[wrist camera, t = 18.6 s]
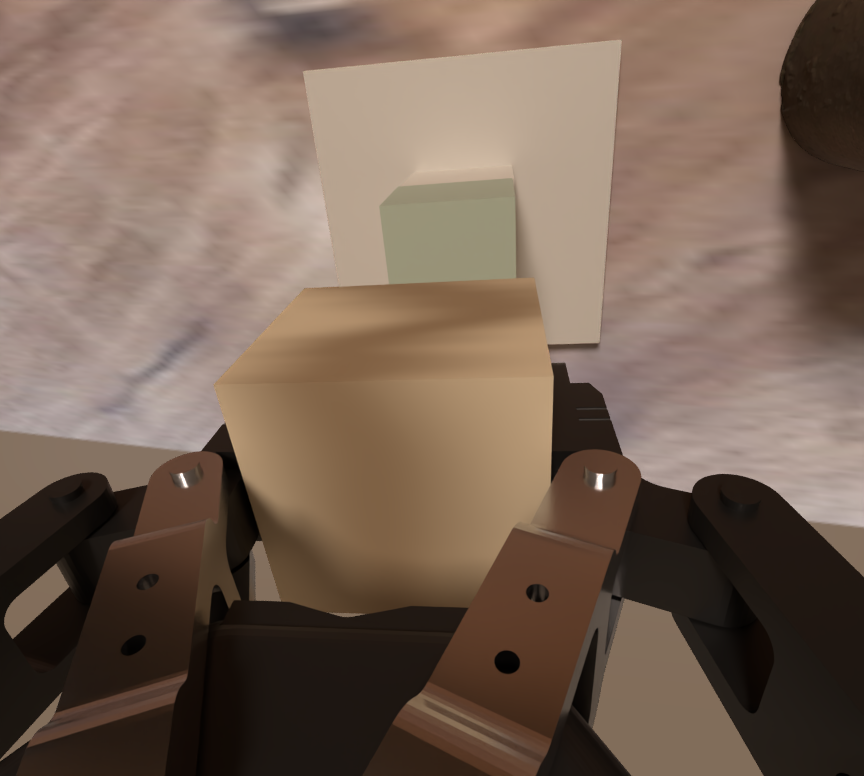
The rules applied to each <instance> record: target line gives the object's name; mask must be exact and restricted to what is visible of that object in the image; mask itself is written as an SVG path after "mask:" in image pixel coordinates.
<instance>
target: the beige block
mask: <svg viewBox="0 0 864 776" xmlns="http://www.w3.org/2000/svg"><path fill="white" fill-rule="evenodd" d="M505 178H512V180H513V186H514V174H513V169H512V165H509V166H495V167H481V168H467V169H453V170H439V171H426V172H413V173H412V174H411V175H410V177H409V178H408V179H407V180H406V181H405V182H404V183H403V184H402V185H401V186H412V185H426V184H439V183H452V182H466V181H479V180H492V179H505Z"/></svg>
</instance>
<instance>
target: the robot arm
mask: <svg viewBox="0 0 864 776" xmlns="http://www.w3.org/2000/svg"><path fill="white" fill-rule="evenodd" d="M551 366H552V371H553V376H554V380H553V416H552V452H551V485H550V487H549V489H548V491H547V493H546V495H545V497H544V499H543V500H542V502H541V504H540V506H539V508H538V510H537V512H536V514H535V516H534V518H533V520H532V522H531V523H530V524H526V523H523V522H518V523H517V524H516V525H515V526H514V527H513V529H512V530H511V532H510V534H509V536H508V538H507V539H506V541H505V543H504V545H503V547H502V548H501V550H500V552H499V554H498V556H497V557H496V559H495V561H494V563H493V565H492V567H491V568H490V570H489V572H488V574H487V576H486V577H485V579H484V581H483V583H482V585H481V586H480V588H479V590H478V592H477V594H476V595H475V597H474V599H473V601H472V603H471V605H470V606H469V608H462V607H431V606H408V607H403V608H397V609H392V610H387V611H381V612H376V613H370V614H365V615H360V616H355V617H340V616H337V615H333V614H330V613H326V612H323V611H319V610H316V609H313V608H309V607H306V606H302V605H299V604H295V603H292V602H277V601H255V559H254V556H253V552H252V547H253V546H254V544H255V542H256V541H262V538H261V535H260V532H259V529H258V525H257V522H256V519H255V516H254V513H253V509H252V506H251V503H250V500H249V497H248V493H247V490H246V487H245V484H244V481H243V477H242V474H241V471H240V468H239V465H238V461H237V458H236V455H235V452H234V449H233V445H232V442H231V439H230V436H229V433H228V429H227V426H226V423H225V424H223V425H222V426H221V427H220V428H219V430H218V431H217V432H216V433H215V434H214V436H213V437H212V438H211V439H210V441H209V442H208V443H207V444H206V446H205V447H204V448H203V449H202V451H200V452H192V453H187V454H184V455H181V456H178V457H176V458H173V459H172V460H169V461H167V462H166V463H164V464H163V465H161V466H160V467H159V468H158V469H156V471H155V472H154V473H153V474H152V475H151V477H150V480H149V483H148V485H146V486H141V487H136V488H131V489H126V490H121V491H116V492H113V491H112V489H111V487H110V484H109V482H108V480H107V478H106V477H105V476H104V475H102V474H99V473H93V472H91V473H80V474H76V475H72V476H69V477H66V478H63V479H60V480H58V481H56V482H54V483H52V484H50V485H48V486H47V487H45V488H44V489H42V490H40V491H39V492H38V493H36V494H35V495H33V496H32V497H31V498H29V499H28V500H27V501H25V502H24V503H22V504H21V505H20V506H18V507H17V508H15V509H14V510H12V511H11V512H10V513H8V514H7V515H5V516H4V517H3V518H1V519H0V759H1V758H2V756H3V755H4V754H5V753H6V752H7V751H8V750H9V749H10V748H11V747H12V745H13V744H14V743H15V742H16V741H17V740H18V739H19V738H20V737H21V736H22V735H23V734H24V732H25V731H26V730H27V729H28V728H29V727H30V726H31V725H32V724H33V723H34V722H35V720H36V719H37V718H38V717H39V716H40V715H41V714H42V713H43V712H44V711H45V710H46V708H47V707H48V706H49V705H50V704H51V703H52V702H53V701H54V700H55V699H56V698H57V696H58V695H59V694H60V693H61V692H62V693H61V696H60V699H59V702H58V706H57V708H56V711H55V714H54V716H53V718H52V719H51V720H50V722H49V723H48V724H47V725H45V726H43V727H42V728H40V729H39V730H38V731H37V732H36V733H35V734H34V736H33V737H32V739H31V740H30V741H28V742H27V743H25V744H24V745H23V746H21V747H20V748H18V749H17V750H16V751H14V752H13V753H12V754H10V755H9V756H7V757H6V758H5V759H3V760H2V761H0V776H631V775H630V774H629V772H628V771H627V770H626V769H625V768H624V766H623V765H622V764H621V763H620V762H619V761H618V759H617V758H616V757H615V756H614V755H613V753H612V752H611V751H610V750H609V749H608V747H607V746H606V745H605V744H604V743H603V741H602V740H601V739H600V738H599V737H598V735H597V734H596V733H595V732H594V731H593V729H592V728H593V724H594V719H595V715H596V711H597V706H598V702H599V697H600V692H601V686H602V681H603V676H604V672H605V668H606V664H607V661H608V657H609V653H610V650H611V646H612V642H613V639H614V635H615V631H616V628H617V624H618V620H619V617H620V613H621V609H622V606H623V602H624V599H629V600H632V601H635V602H639V603H642V604H646V605H649V606H652V607H656V608H659V609H662V610H666V611H669V612H671V613H672V616H673V618H674V620H675V622H676V624H677V626H678V628H679V629H680V631H681V633H682V635H683V636H684V638H685V640H686V641H687V643H688V645H689V647H690V648H691V650H692V652H693V654H694V655H695V657H696V659H697V660H698V662H699V664H700V666H701V668H702V669H703V671H704V673H705V674H706V676H707V678H708V680H709V681H710V683H711V685H712V687H713V688H714V690H715V692H716V694H717V695H718V697H719V698H720V701H721V702H722V704H723V706H724V708H725V709H726V711H727V713H728V714H729V716H730V718H731V719H732V721H733V723H734V725H735V727H736V728H737V730H738V732H739V733H740V735H741V737H742V739H743V741H744V742H745V744H746V746H747V747H748V749H749V751H750V752H751V754H752V756H753V758H754V760H755V761H756V763H757V765H758V767H759V768H760V770H761V772H762V773H763V775H764V776H864V577H863V576H862V575H861V574H860V573H859V572H858V571H857V570H856V569H855V568H854V567H853V566H852V565H851V564H850V563H849V562H848V561H847V560H846V559H845V558H844V557H843V556H842V555H841V554H840V553H838V551H836V550H835V549H834V548H833V547H832V546H831V545H830V544H829V543H828V542H827V541H826V540H825V539H824V538H823V537H822V536H821V535H820V534H819V533H818V532H817V531H816V530H815V529H814V528H813V527H812V526H811V525H810V524H809V523H808V522H807V521H806V520H805V519H804V518H803V517H802V516H801V515H800V514H799V513H798V512H797V511H796V510H795V509H794V508H793V507H792V506H791V505H790V504H789V503H788V502H787V501H785V500H784V499H783V498H782V497H781V496H780V495H779V494H778V493H777V492H776V491H774V490H773V489H771V488H770V487H768V486H767V485H765V484H763V483H761V482H758V481H756V480H753V479H750V478H747V477H743V476H738V475H731V474H716V475H711V476H707V477H704V478H702V479H700V480H699V481H698V482H697V483H695V485H694V487H693V490H692V493H689V492H684V491H679V490H675V489H670V488H666V487H662V486H658V485H655V484H653V483H650V482H648V481H646V480H644V479H642V478H641V473H640V470H639V468H638V467H637V466H636V464H634V463H633V462H632V461H631V460H630V459H628V458H626V457H624V456H623V454H622V451H621V448H620V445H619V442H618V439H617V437H616V434H615V431H614V428H613V425H612V422H611V420H610V416H609V413H608V410H607V409H606V404H605V401H604V398H603V395H602V394H601V393H600V392H599V391H598V390H597V389H596V388H594V387H593V386H592V385H591V384H590V383H570V381H569V377H568V372H567V368H566V364H565V363H551ZM55 564H57V566H58V567H59V569H60V571H61V572H62V574H63V576H64V578H65V580H66V581H67V583H68V585H69V588H68V589H67V590H66V591H65V592H63V593H62V594H61V595H60V596H59V597H58V598H57V599H56V600H55V601H54V602H53V603H51V604H50V605H49V606H48V607H47V608H46V609H45V610H44V611H43V612H42V613H41V614H40V615H38V616H37V617H36V618H35V619H34V620H33V621H32V622H31V623H30V624H29V625H28V626H26V627H25V628H24V629H23V630H22V631H21V632H20V633H19V634H18V635H17V636H16V637H15V638H14V639H12V638H11V636H10V635H9V633H8V632H7V630H6V629H5V626H4V617H5V613H6V611H7V609H8V607H9V605H10V604H11V603H12V601H13V600H14V599H15V598H16V597H17V596H19V595H20V594H21V593H22V592H23V591H24V590H26V589H27V588H28V587H29V586H30V585H31V584H33V583H34V582H35V581H36V580H37V579H38V578H40V577H41V576H42V575H43V574H44V573H45V572H47V570H49V569H50V568H51V567H52V566H54V565H55Z"/></svg>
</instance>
